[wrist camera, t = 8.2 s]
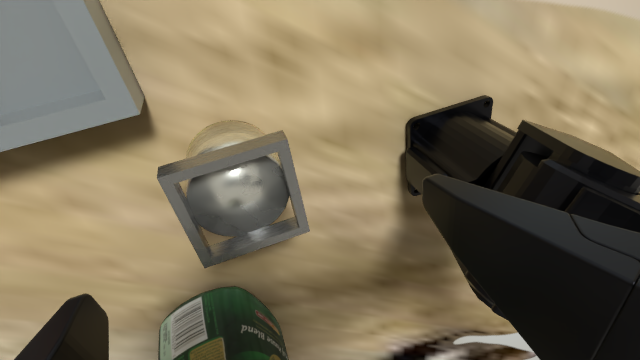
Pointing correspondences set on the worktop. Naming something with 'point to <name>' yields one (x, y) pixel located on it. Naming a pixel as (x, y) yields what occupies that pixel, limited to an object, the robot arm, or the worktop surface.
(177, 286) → the worktop surface
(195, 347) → the coffee jar
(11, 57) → the tray
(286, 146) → the hollow square frame
